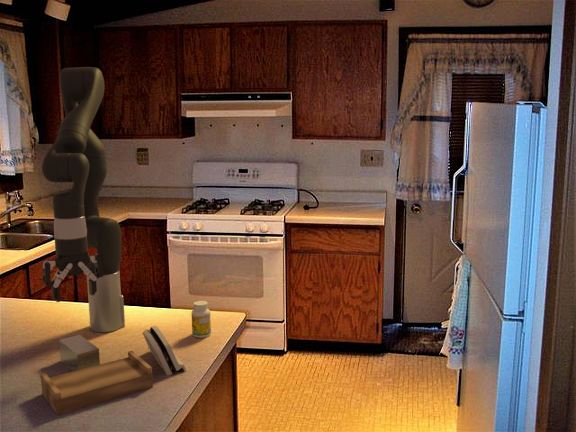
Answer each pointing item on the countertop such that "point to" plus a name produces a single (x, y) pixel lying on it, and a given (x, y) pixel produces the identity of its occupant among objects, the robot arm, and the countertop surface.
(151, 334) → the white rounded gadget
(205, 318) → the supplement bottle
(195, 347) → the countertop surface
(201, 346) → the countertop surface
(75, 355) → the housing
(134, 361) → the stand
